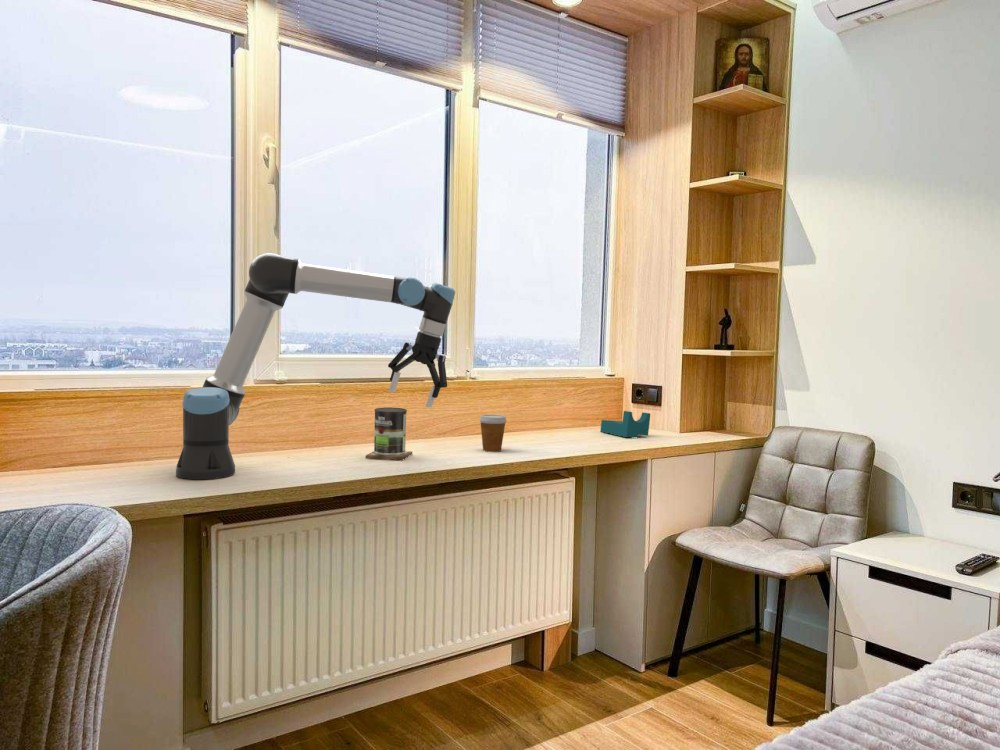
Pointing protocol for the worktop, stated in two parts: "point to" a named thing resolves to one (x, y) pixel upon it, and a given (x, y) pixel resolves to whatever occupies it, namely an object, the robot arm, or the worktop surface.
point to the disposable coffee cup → (492, 431)
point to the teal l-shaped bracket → (627, 425)
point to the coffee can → (390, 431)
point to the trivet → (389, 456)
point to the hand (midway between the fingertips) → (409, 399)
